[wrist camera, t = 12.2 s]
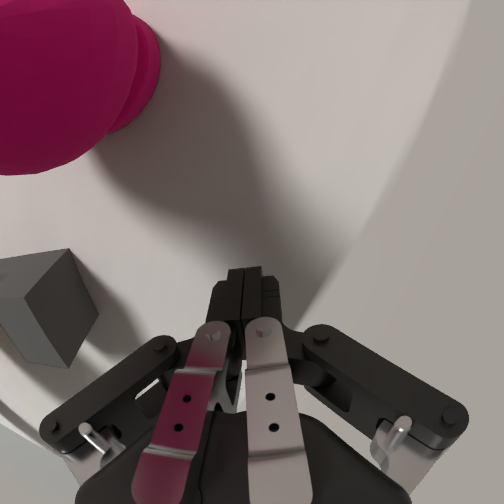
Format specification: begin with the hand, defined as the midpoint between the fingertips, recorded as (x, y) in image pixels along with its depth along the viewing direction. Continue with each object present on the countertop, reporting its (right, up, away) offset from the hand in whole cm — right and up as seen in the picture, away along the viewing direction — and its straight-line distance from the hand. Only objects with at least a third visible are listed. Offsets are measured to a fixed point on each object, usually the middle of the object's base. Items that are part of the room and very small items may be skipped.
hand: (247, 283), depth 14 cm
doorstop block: (-14, -1, +3) cm, 14 cm away
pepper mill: (-7, +10, -3) cm, 12 cm away
